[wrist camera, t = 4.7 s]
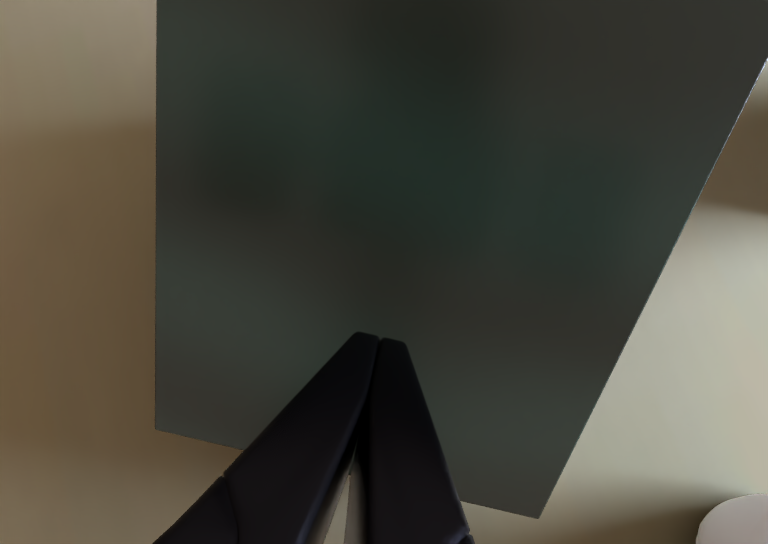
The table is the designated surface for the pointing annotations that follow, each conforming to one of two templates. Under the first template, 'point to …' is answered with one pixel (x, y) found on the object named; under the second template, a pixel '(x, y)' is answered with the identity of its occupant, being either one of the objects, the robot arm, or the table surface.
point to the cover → (430, 204)
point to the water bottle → (736, 522)
